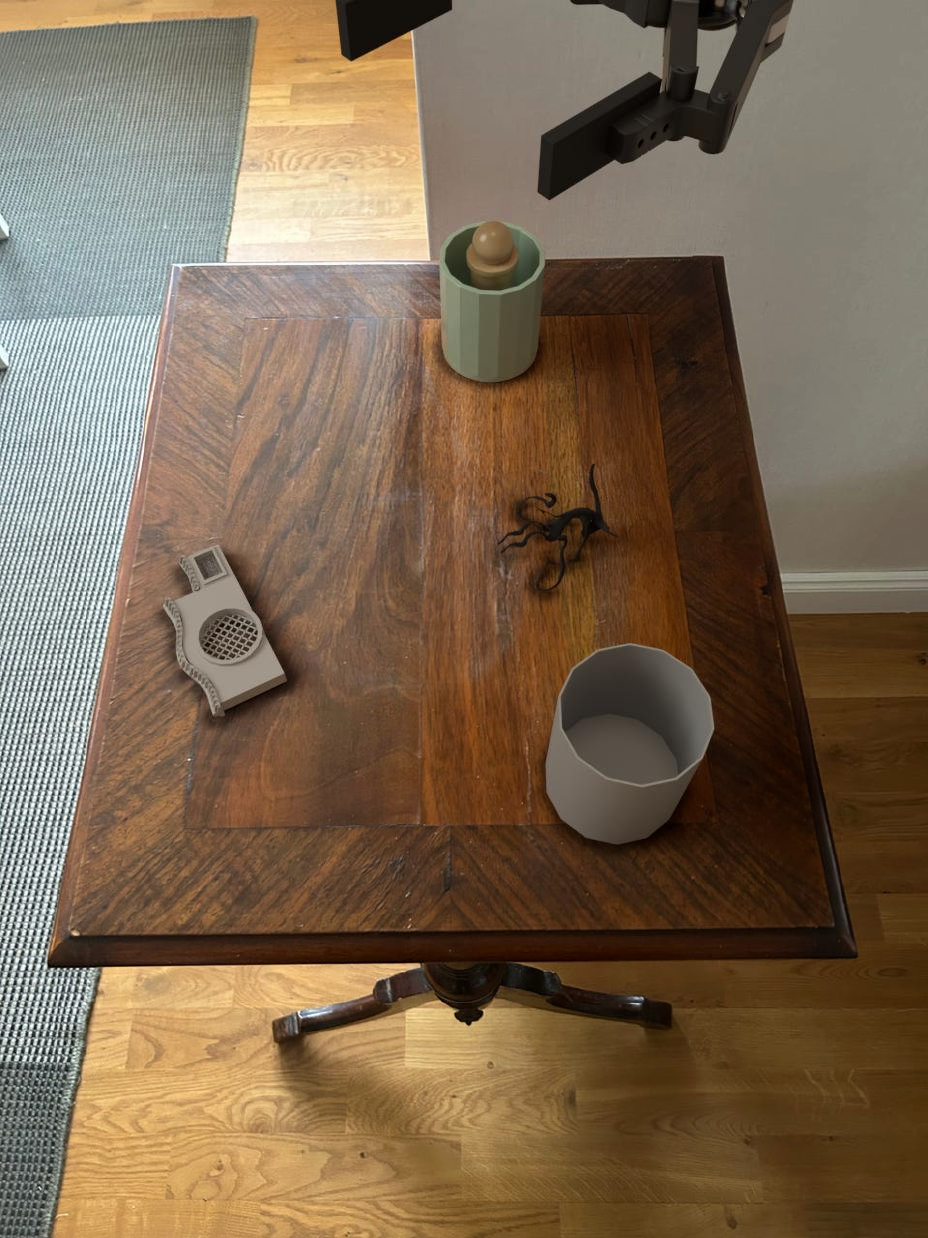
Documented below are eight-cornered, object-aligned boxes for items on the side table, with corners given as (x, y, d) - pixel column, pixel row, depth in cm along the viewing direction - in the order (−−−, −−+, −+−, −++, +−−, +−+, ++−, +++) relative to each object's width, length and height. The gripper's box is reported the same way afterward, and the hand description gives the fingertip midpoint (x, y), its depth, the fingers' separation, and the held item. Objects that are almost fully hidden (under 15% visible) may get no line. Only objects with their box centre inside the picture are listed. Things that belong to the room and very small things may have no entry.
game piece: (524, 339, 80) (531, 226, 71) (489, 364, 79) (493, 252, 70) (490, 314, 82) (493, 200, 72) (456, 338, 80) (455, 225, 71)
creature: (515, 607, 70) (626, 577, 69) (500, 570, 66) (620, 536, 65) (493, 516, 74) (598, 486, 73) (477, 475, 69) (590, 442, 69)
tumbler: (538, 314, 83) (545, 222, 75) (536, 384, 79) (544, 295, 71) (445, 310, 83) (443, 219, 75) (439, 380, 79) (436, 292, 71)
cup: (687, 732, 64) (722, 661, 56) (671, 857, 61) (705, 801, 52) (557, 705, 65) (571, 631, 57) (532, 825, 61) (543, 766, 53)
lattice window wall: (223, 551, 71) (143, 585, 70) (217, 536, 70) (135, 571, 68) (291, 685, 66) (207, 725, 65) (287, 673, 65) (200, 714, 63)
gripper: (922, 104, 51) (631, 308, 44) (570, -88, 60) (283, 55, 53) (990, -57, 44) (660, 152, 37) (583, -245, 53) (257, -106, 46)
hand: (437, 95), depth 45 cm, fingers open, 13 cm apart
